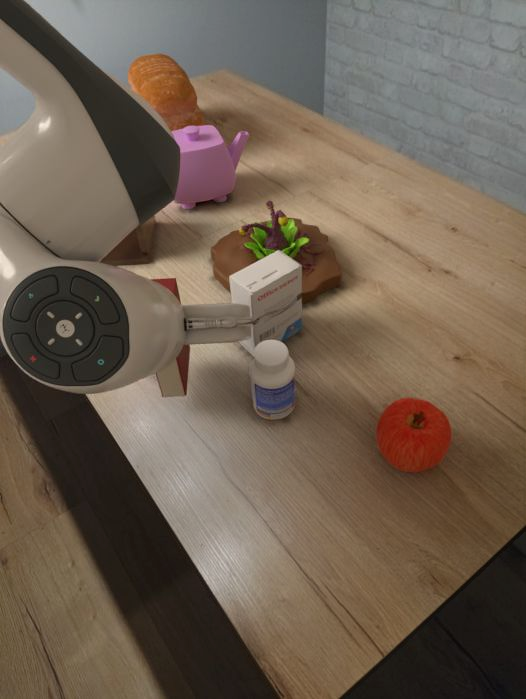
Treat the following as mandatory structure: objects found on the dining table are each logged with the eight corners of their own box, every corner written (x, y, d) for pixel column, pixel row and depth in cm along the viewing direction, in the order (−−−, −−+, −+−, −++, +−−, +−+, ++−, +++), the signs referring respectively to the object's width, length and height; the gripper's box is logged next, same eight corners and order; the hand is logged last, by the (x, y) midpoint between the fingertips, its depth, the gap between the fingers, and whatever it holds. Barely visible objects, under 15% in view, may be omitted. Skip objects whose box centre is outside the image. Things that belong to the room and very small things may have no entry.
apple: (411, 412, 63) (424, 371, 57) (457, 463, 58) (476, 423, 52) (358, 440, 61) (365, 399, 55) (401, 495, 56) (414, 457, 50)
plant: (239, 324, 75) (233, 263, 66) (199, 250, 87) (190, 190, 79) (361, 286, 79) (369, 224, 71) (306, 221, 92) (308, 161, 83)
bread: (152, 171, 106) (135, 94, 95) (130, 120, 123) (114, 50, 111) (215, 158, 108) (206, 82, 97) (185, 110, 125) (175, 40, 114)
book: (162, 398, 63) (141, 329, 54) (167, 348, 68) (149, 279, 60) (186, 397, 63) (170, 327, 54) (190, 347, 68) (175, 277, 60)
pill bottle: (303, 409, 64) (305, 357, 57) (265, 428, 63) (262, 377, 55) (280, 380, 68) (279, 328, 60) (244, 397, 66) (239, 346, 59)
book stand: (52, 269, 85) (22, 199, 76) (67, 227, 93) (42, 159, 84) (148, 263, 85) (131, 193, 76) (156, 222, 93) (140, 153, 84)
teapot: (157, 221, 93) (142, 155, 84) (144, 188, 102) (130, 123, 92) (261, 198, 97) (258, 132, 88) (241, 167, 105) (236, 104, 96)
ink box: (280, 312, 76) (278, 246, 68) (302, 330, 74) (304, 264, 65) (234, 340, 73) (226, 275, 64) (256, 360, 70) (251, 294, 61)
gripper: (251, 284, 45) (253, 294, 59) (15, 297, 45) (73, 304, 58) (255, 357, 45) (256, 349, 59) (21, 369, 45) (77, 359, 59)
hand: (163, 327), depth 59 cm, fingers closed on book, 3 cm apart
